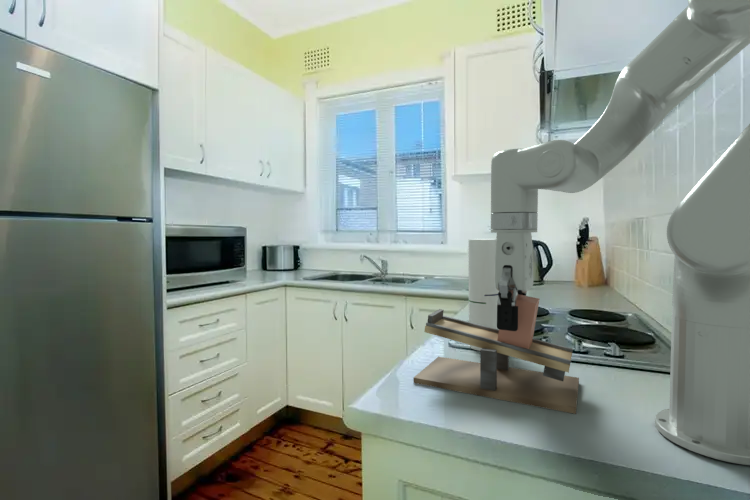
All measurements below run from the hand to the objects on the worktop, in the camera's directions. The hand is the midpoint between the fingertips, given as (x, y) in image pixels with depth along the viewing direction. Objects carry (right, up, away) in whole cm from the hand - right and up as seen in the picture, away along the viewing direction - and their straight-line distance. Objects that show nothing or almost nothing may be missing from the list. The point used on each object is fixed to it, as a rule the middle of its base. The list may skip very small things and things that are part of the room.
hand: (512, 323), depth 69 cm
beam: (-3, -6, +2) cm, 7 cm away
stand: (-2, -11, +2) cm, 11 cm away
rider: (0, -3, 0) cm, 3 cm away
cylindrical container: (+2, -10, +24) cm, 26 cm away
